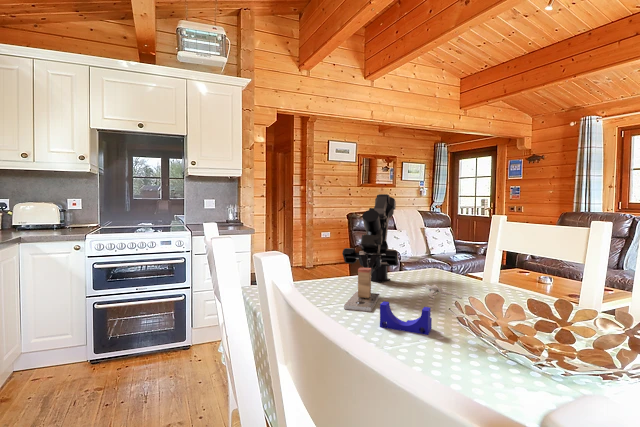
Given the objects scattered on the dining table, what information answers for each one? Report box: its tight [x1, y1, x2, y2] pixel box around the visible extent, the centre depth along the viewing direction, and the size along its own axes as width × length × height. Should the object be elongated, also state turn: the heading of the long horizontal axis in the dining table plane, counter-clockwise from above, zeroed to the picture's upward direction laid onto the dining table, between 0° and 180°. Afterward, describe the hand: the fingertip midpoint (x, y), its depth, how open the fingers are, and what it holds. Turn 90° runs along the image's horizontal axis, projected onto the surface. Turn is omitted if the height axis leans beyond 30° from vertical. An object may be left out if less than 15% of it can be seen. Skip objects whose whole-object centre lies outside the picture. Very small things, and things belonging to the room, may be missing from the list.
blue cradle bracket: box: [379, 301, 432, 336], centre depth 92 cm, size 12×4×6 cm, turn 63°
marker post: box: [357, 267, 372, 298], centre depth 116 cm, size 4×4×9 cm
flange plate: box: [343, 291, 381, 313], centre depth 114 cm, size 16×8×2 cm, turn 162°
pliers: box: [425, 283, 463, 300], centre depth 126 cm, size 10×2×15 cm
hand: (366, 277), depth 120 cm, fingers closed
